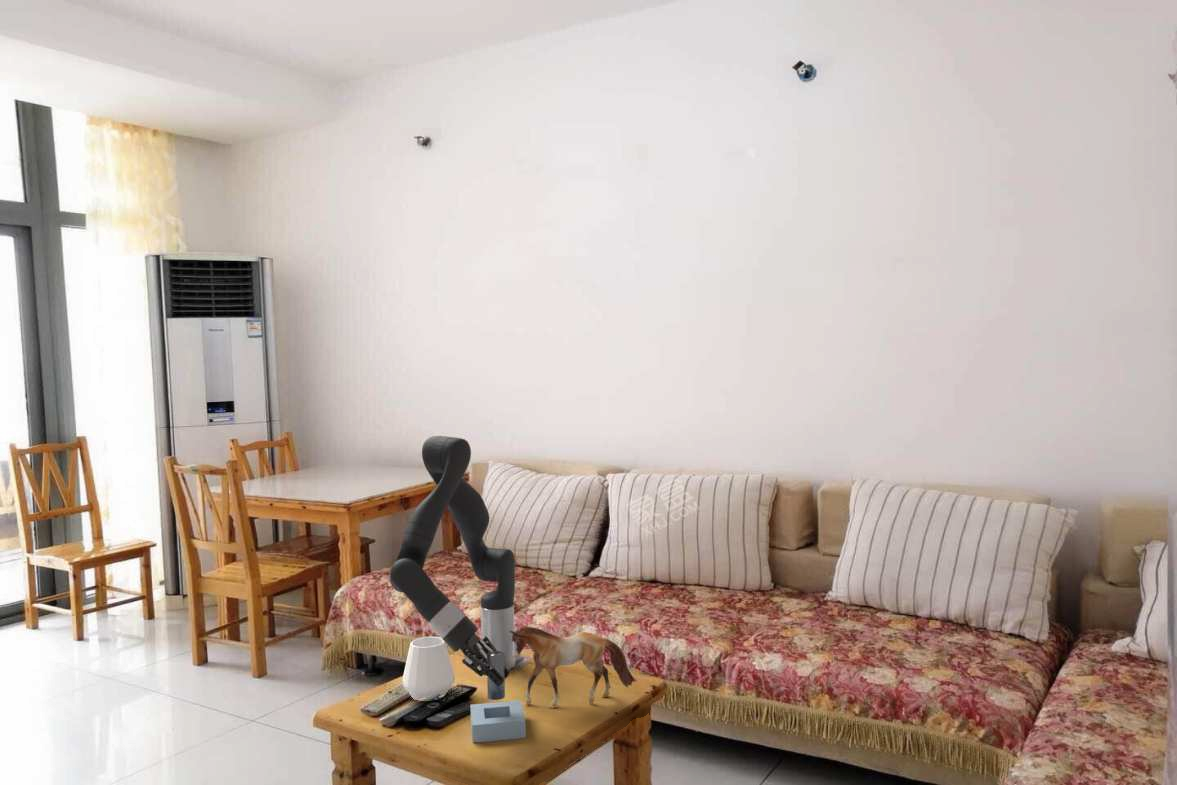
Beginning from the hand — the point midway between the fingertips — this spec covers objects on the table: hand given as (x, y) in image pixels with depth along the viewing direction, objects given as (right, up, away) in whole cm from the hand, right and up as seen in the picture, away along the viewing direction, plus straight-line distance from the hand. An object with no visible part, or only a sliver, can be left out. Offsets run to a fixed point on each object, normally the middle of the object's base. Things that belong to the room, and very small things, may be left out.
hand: (504, 679), depth 201 cm
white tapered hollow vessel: (-22, -12, +23) cm, 33 cm away
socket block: (-2, -12, +1) cm, 12 cm away
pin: (-2, -4, 0) cm, 5 cm away
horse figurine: (+16, -11, +13) cm, 23 cm away
